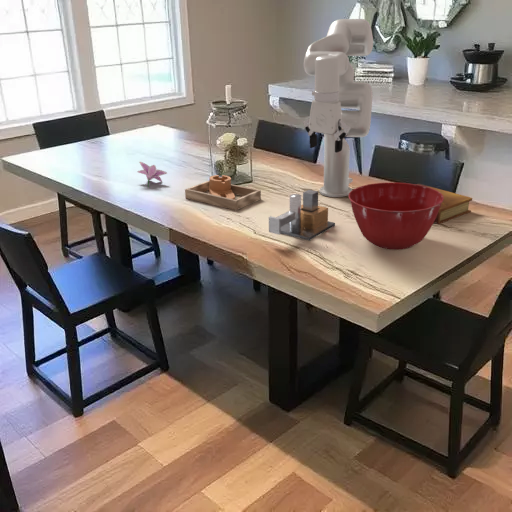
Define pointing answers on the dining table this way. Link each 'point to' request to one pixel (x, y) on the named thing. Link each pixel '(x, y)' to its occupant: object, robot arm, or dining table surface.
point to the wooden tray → (247, 193)
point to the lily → (151, 172)
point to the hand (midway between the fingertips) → (325, 149)
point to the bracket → (221, 186)
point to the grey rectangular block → (310, 201)
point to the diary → (451, 205)
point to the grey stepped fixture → (300, 221)
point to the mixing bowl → (395, 213)
